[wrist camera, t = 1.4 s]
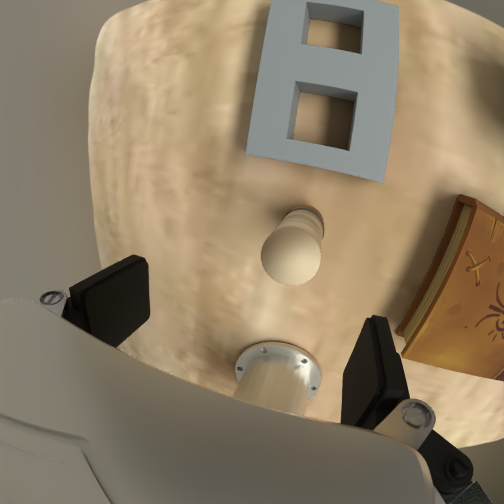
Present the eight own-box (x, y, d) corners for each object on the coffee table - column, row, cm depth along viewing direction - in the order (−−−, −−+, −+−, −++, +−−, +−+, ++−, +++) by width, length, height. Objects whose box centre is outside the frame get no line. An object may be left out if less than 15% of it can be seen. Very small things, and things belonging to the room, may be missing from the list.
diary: (551, 257, 20) (571, 271, 14) (496, 360, 27) (509, 382, 21) (456, 192, 23) (480, 200, 18) (394, 330, 30) (402, 359, 25)
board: (375, 180, 25) (383, 183, 22) (256, 155, 28) (245, 154, 24) (392, 22, 18) (398, 6, 15) (280, 4, 21) (273, -13, 17)
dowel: (329, 233, 29) (328, 278, 18) (294, 244, 30) (271, 292, 19) (318, 197, 28) (310, 219, 17) (281, 208, 29) (251, 237, 18)
